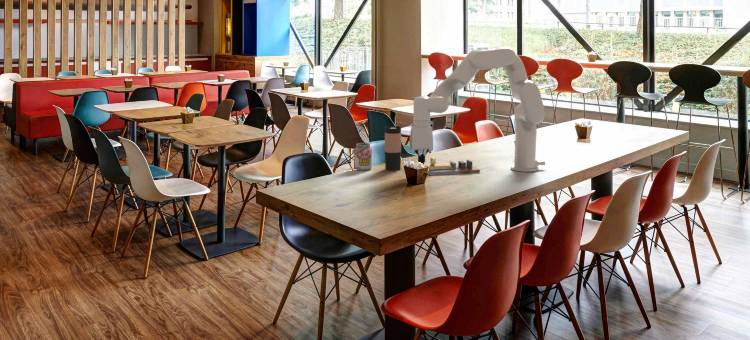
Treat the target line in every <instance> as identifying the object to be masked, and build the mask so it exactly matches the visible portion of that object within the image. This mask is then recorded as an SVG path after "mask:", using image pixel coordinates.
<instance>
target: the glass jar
mask: <svg viewBox="0 0 750 340" xmlns="http://www.w3.org/2000/svg"><path fill="white" fill-rule="evenodd" d="M355 144H356V145H355V147H354V148H353V149H352V151H351V153H352V154H354V169H355V170H357V171H360V170H361V171H371V169H372V168H373V162H372V161H373V154H372V153H373V152H372V151H373V150H372V149H373V148H372V147H371V143H368V142H367V143H366V142H358V143H355Z"/></svg>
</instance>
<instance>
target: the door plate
mask: <svg viewBox="0 0 750 340" xmlns="http://www.w3.org/2000/svg"><path fill="white" fill-rule="evenodd" d="M449 164H452V165H453V169H438V170H429V171H428V174H427V175H428V176H442V175H443V176H444V175H460V174H459V170H457V169H456V167H457V163H456V162H455V161H453V160H450V161H449Z"/></svg>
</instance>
